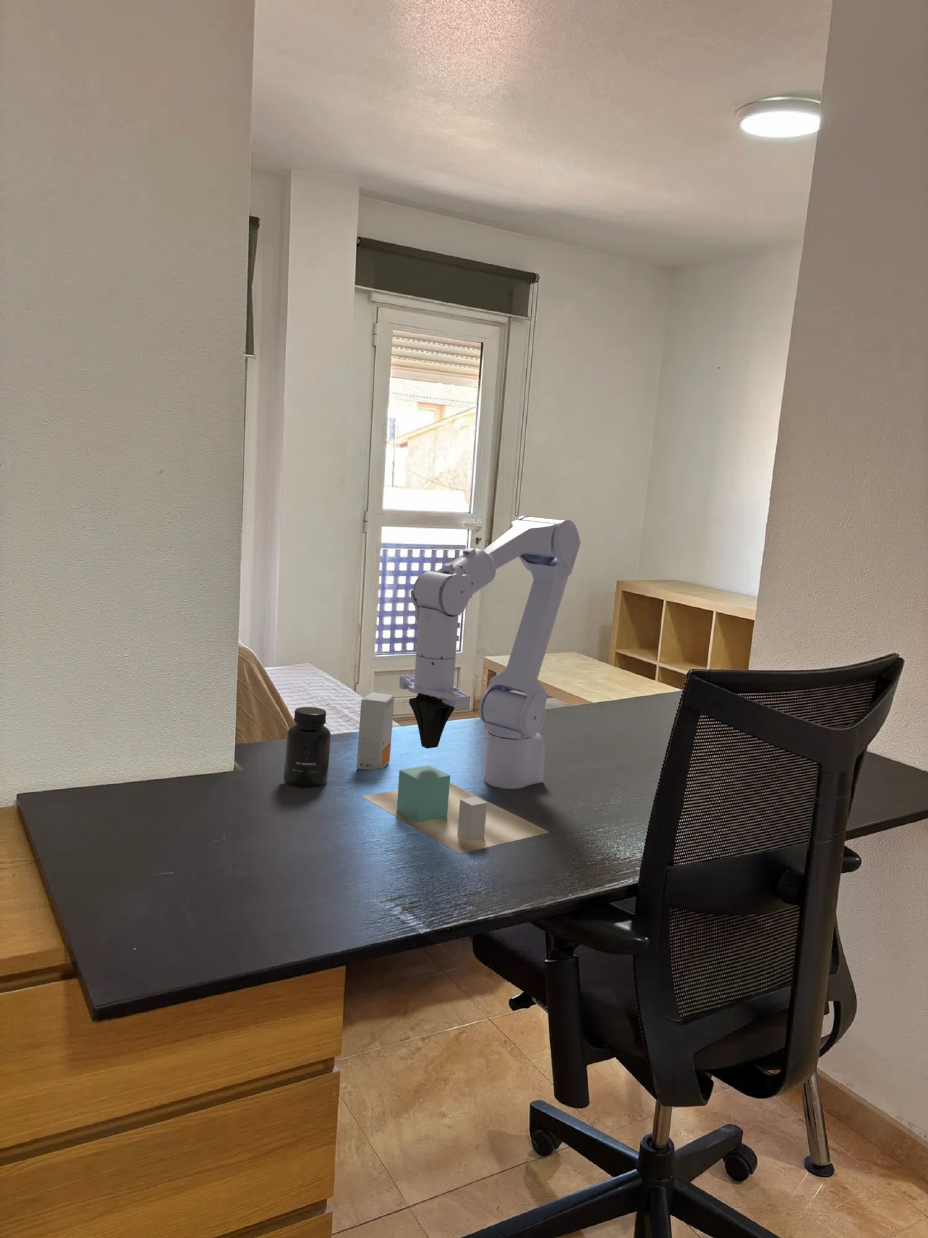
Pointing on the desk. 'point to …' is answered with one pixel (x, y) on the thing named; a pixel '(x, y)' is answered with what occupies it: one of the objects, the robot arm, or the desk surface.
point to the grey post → (472, 818)
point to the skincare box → (375, 731)
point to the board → (444, 830)
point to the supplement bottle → (307, 749)
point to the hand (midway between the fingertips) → (429, 746)
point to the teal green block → (423, 793)
